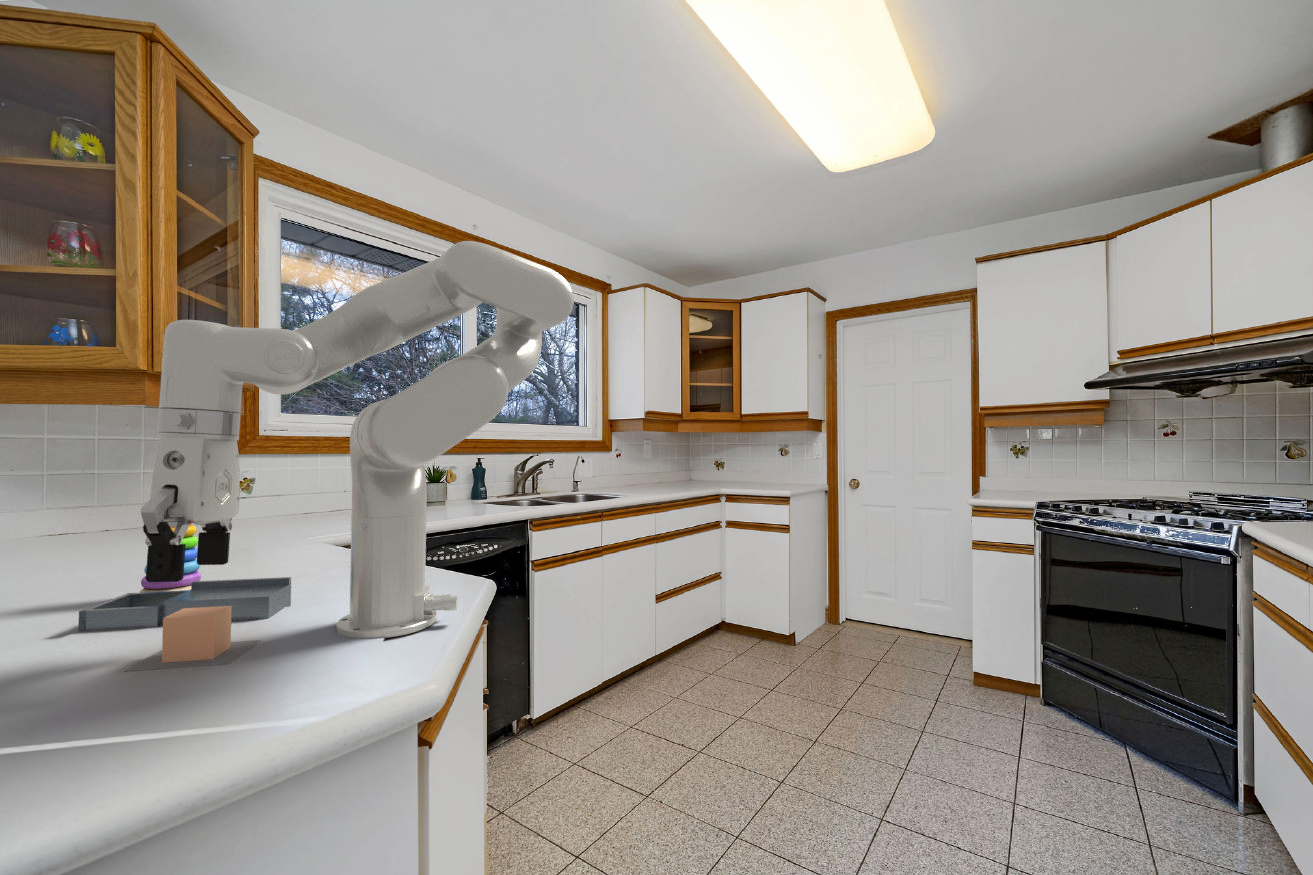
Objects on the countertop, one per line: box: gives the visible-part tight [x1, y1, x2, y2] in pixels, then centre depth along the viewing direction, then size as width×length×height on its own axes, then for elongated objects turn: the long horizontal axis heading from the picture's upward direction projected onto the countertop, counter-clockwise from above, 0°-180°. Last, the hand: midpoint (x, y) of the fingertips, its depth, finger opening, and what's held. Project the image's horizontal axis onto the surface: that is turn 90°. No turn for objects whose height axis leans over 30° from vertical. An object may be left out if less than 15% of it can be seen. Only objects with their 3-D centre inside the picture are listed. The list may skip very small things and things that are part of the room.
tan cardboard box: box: [161, 606, 232, 663], centre depth 66 cm, size 5×4×5 cm
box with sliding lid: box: [77, 576, 292, 632], centre depth 81 cm, size 22×10×4 cm, turn 104°
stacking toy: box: [138, 521, 202, 593], centre depth 92 cm, size 8×8×19 cm
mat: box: [122, 639, 262, 673], centre depth 65 cm, size 10×8×1 cm
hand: (190, 572), depth 65 cm, fingers open, 9 cm apart
